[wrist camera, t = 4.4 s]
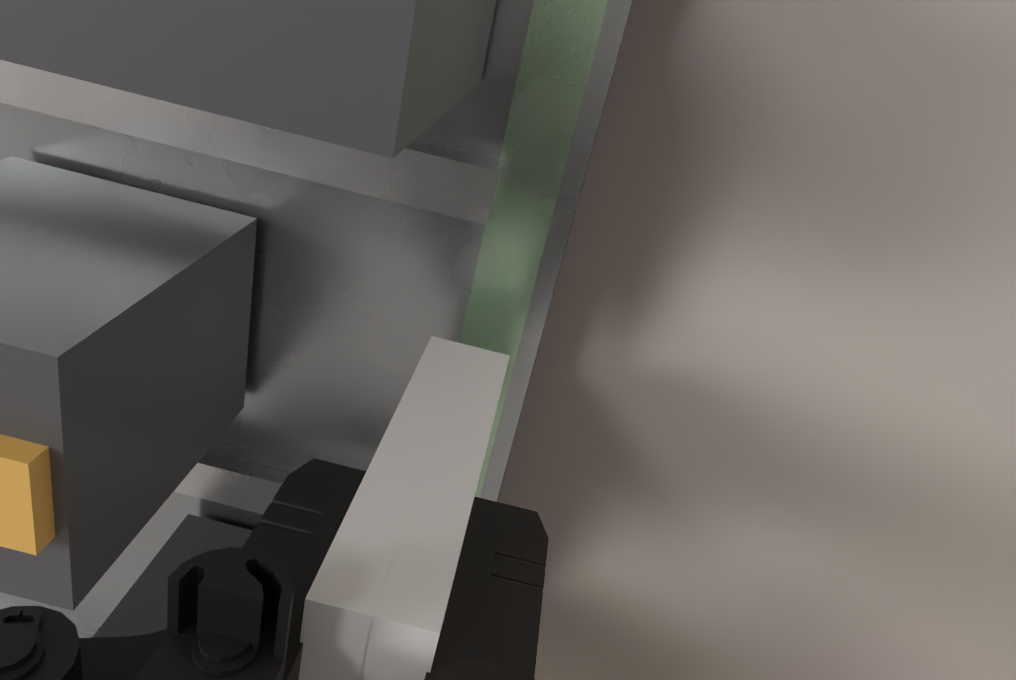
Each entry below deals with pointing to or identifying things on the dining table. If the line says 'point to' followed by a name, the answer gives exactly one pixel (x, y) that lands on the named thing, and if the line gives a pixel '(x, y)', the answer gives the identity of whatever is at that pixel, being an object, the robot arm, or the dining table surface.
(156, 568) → the block
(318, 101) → the breaker
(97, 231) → the block
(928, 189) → the dining table surface
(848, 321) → the dining table surface
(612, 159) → the dining table surface
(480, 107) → the panel
